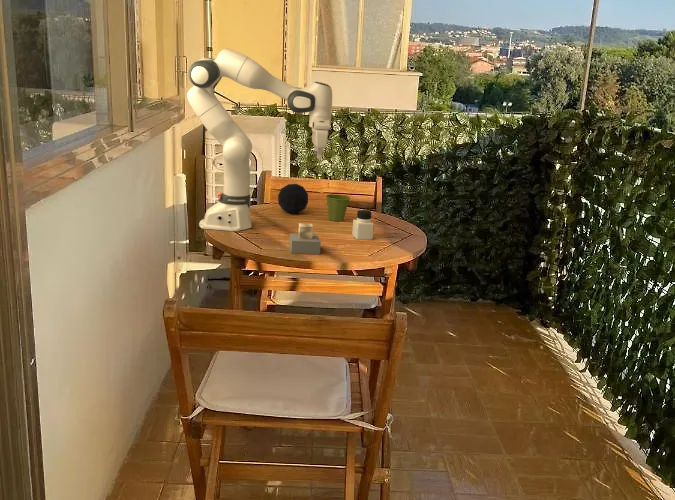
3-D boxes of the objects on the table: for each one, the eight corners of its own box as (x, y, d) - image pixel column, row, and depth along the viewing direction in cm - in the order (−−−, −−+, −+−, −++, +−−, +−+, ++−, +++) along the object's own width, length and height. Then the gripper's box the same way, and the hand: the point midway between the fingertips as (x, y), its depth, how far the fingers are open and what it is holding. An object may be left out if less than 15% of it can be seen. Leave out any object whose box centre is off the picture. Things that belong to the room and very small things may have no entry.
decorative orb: (287, 196, 318) (281, 175, 306) (315, 200, 313) (309, 179, 301) (277, 217, 310) (270, 196, 298) (305, 222, 305) (299, 201, 294)
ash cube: (299, 238, 245) (299, 226, 243) (298, 235, 250) (298, 223, 248) (312, 239, 246) (312, 226, 244) (310, 235, 250) (311, 223, 249)
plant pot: (344, 224, 293) (346, 200, 290) (320, 220, 297) (321, 197, 294) (352, 219, 304) (354, 196, 301) (328, 215, 307) (330, 192, 304)
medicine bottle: (372, 239, 271) (375, 212, 267) (356, 239, 269) (359, 212, 265) (367, 235, 277) (369, 208, 274) (351, 235, 275) (354, 208, 272)
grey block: (291, 253, 243) (292, 240, 241) (289, 245, 253) (289, 233, 252) (319, 254, 245) (320, 241, 243) (316, 246, 255) (317, 234, 254)
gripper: (309, 120, 270) (307, 152, 274) (315, 125, 250) (312, 160, 254) (324, 121, 271) (322, 153, 275) (330, 126, 251) (328, 160, 255)
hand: (317, 156), depth 264 cm, fingers open, 8 cm apart
